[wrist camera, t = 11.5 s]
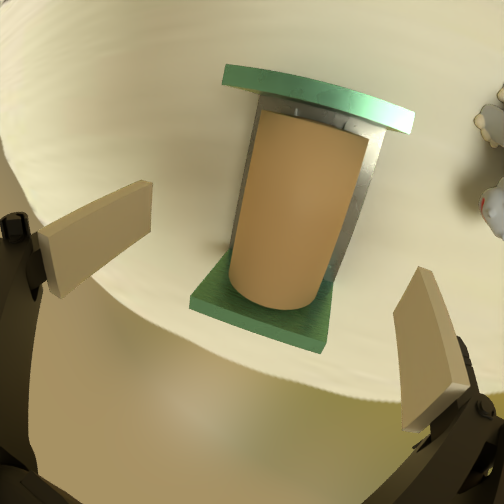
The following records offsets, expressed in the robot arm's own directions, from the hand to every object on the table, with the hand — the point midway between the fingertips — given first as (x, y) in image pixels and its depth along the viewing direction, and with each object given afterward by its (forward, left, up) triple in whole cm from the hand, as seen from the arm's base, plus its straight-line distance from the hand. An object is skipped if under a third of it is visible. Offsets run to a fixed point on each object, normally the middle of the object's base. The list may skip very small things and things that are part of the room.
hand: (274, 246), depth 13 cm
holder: (0, 0, -12) cm, 12 cm away
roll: (+1, 0, -11) cm, 11 cm away
